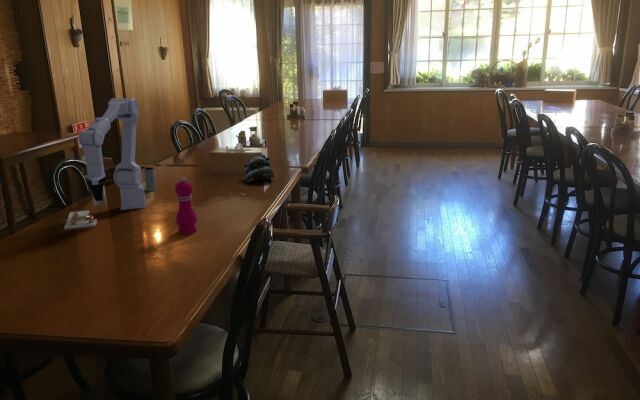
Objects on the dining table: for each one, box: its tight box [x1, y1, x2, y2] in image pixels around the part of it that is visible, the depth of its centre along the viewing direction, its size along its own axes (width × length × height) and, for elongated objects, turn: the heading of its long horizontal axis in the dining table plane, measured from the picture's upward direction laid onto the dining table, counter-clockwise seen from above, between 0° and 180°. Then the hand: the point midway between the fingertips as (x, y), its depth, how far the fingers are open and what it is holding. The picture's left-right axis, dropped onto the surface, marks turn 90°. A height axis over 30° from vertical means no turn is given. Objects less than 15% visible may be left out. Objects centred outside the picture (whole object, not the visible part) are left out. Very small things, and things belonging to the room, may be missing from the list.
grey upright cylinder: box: [143, 166, 157, 192], centre depth 234 cm, size 4×4×10 cm
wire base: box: [63, 217, 98, 230], centre depth 192 cm, size 10×11×1 cm
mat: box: [67, 210, 90, 219], centre depth 201 cm, size 7×7×1 cm
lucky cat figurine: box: [243, 154, 275, 183], centre depth 249 cm, size 15×12×14 cm
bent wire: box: [71, 211, 95, 225], centre depth 192 cm, size 8×8×3 cm
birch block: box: [91, 185, 107, 207], centre depth 188 cm, size 4×4×7 cm
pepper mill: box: [174, 176, 198, 235], centre depth 179 cm, size 7×7×20 cm
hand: (99, 199), depth 189 cm, fingers closed on birch block, 4 cm apart
